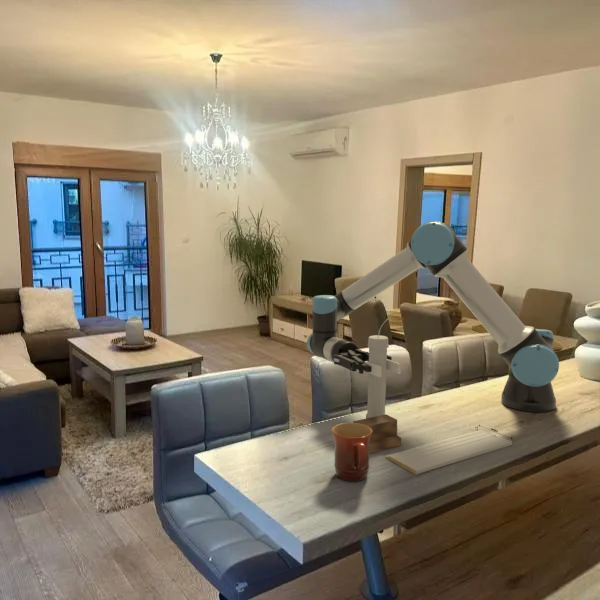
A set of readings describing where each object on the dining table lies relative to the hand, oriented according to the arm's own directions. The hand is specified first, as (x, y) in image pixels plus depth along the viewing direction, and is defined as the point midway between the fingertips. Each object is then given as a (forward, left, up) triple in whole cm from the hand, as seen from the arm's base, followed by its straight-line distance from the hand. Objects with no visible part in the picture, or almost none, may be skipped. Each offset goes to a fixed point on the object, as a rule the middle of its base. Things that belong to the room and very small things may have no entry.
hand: (389, 370), depth 139 cm
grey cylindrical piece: (0, -5, -17) cm, 17 cm away
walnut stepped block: (+8, +5, -16) cm, 19 cm away
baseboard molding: (-5, +16, -17) cm, 24 cm away
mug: (+23, +18, -17) cm, 33 cm away
